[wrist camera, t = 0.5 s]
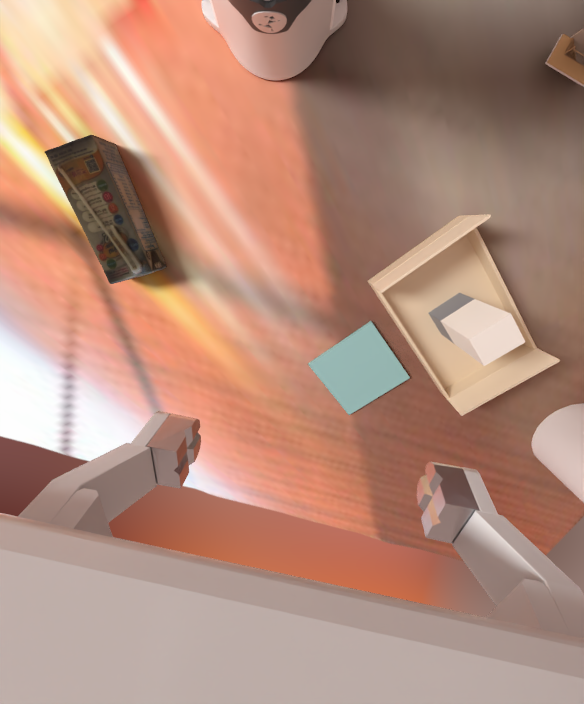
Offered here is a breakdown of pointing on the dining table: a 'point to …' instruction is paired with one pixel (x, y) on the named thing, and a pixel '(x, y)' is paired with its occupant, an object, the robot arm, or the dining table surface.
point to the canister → (563, 446)
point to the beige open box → (439, 286)
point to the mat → (359, 368)
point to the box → (477, 327)
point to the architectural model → (569, 57)
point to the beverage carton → (107, 207)
